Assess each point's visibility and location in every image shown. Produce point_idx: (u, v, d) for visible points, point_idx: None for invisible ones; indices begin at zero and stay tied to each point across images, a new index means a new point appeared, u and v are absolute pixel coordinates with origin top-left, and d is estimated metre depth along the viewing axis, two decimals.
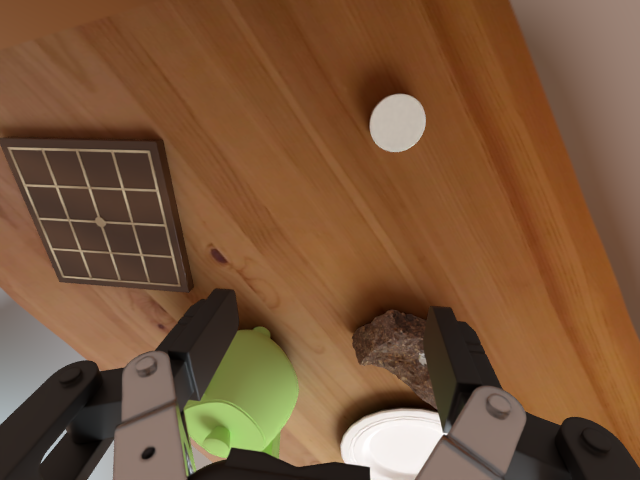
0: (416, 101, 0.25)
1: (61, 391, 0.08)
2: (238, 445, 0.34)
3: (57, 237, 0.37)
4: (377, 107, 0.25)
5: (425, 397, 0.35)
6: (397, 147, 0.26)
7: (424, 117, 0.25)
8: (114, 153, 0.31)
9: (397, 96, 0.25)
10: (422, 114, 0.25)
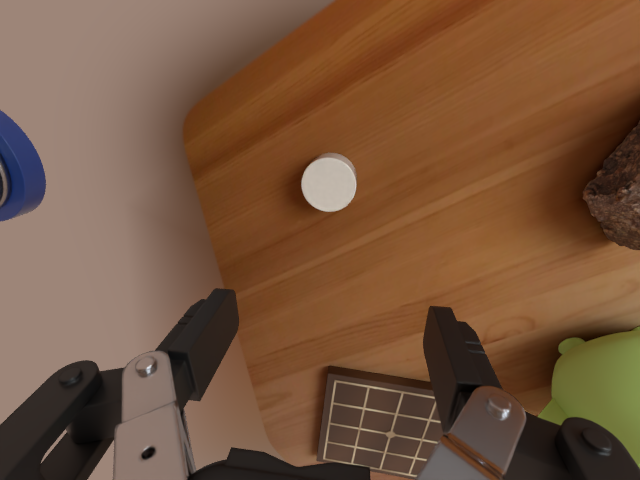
0: (308, 167, 0.25)
1: (60, 391, 0.08)
2: None
3: (399, 466, 0.42)
4: (311, 203, 0.26)
5: None
6: (351, 185, 0.25)
7: (324, 159, 0.24)
8: (334, 402, 0.38)
9: (303, 185, 0.26)
10: (320, 160, 0.24)
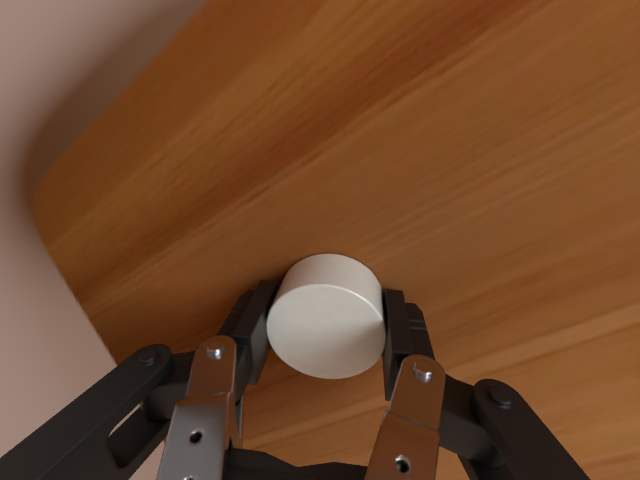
0: (277, 304, 0.11)
1: (137, 370, 0.09)
2: None
3: None
4: (293, 366, 0.12)
5: None
6: (375, 336, 0.11)
7: (310, 287, 0.11)
8: None
9: (270, 335, 0.12)
10: (303, 291, 0.11)
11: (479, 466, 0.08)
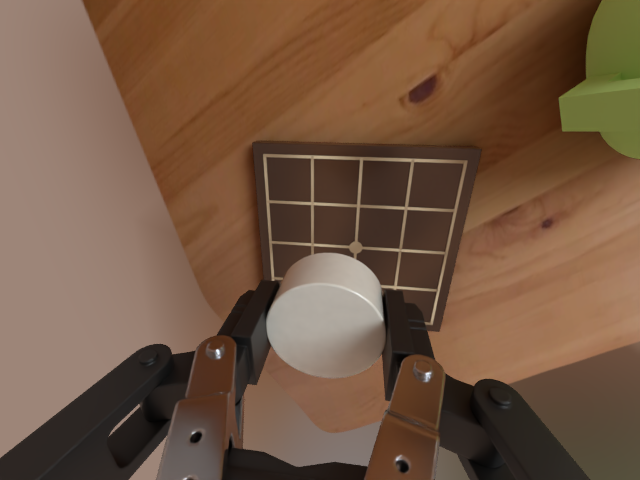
0: (277, 302, 0.11)
1: (138, 370, 0.09)
2: None
3: None
4: (293, 365, 0.12)
5: None
6: (375, 335, 0.11)
7: (310, 286, 0.11)
8: (270, 199, 0.27)
9: (269, 334, 0.12)
10: (302, 290, 0.11)
11: (479, 466, 0.08)
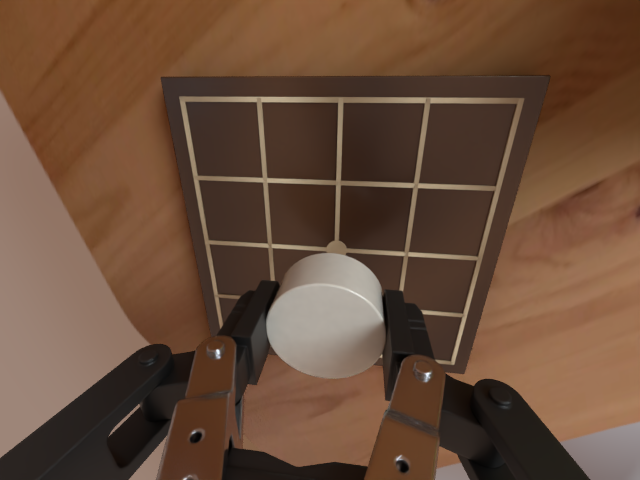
0: (277, 303, 0.11)
1: (138, 370, 0.09)
2: None
3: None
4: (293, 365, 0.12)
5: None
6: (375, 336, 0.11)
7: (310, 286, 0.11)
8: (199, 174, 0.17)
9: (270, 334, 0.12)
10: (302, 290, 0.11)
11: (479, 466, 0.08)
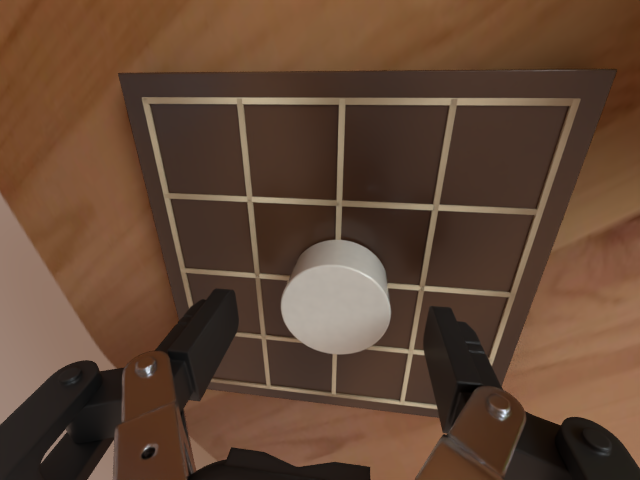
0: (292, 283, 0.12)
1: (60, 391, 0.08)
2: None
3: (376, 382, 0.17)
4: (305, 342, 0.14)
5: None
6: (380, 313, 0.12)
7: (321, 267, 0.12)
8: (171, 192, 0.14)
9: (284, 313, 0.13)
10: (315, 271, 0.12)
11: None
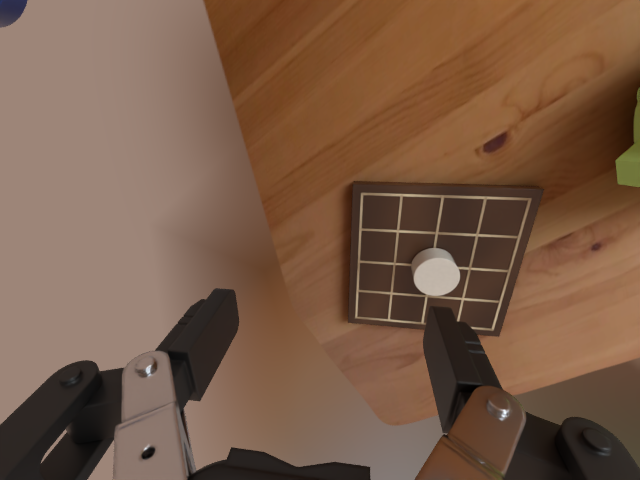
0: (421, 265, 0.31)
1: (60, 391, 0.08)
2: None
3: None
4: (421, 290, 0.32)
5: None
6: (455, 277, 0.31)
7: (434, 259, 0.31)
8: (362, 228, 0.33)
9: (415, 278, 0.32)
10: (431, 260, 0.31)
11: None
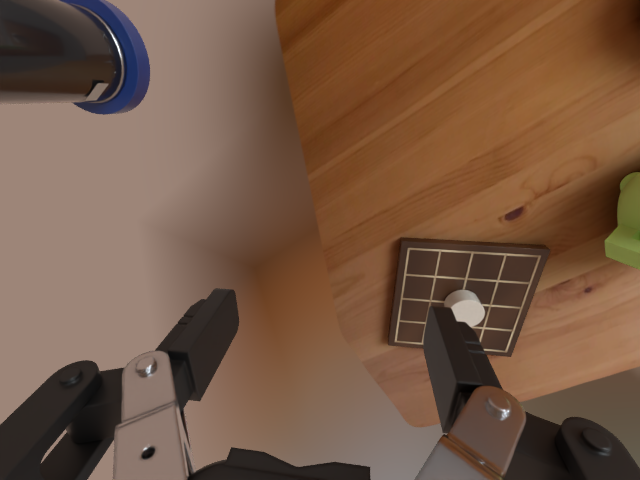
0: (454, 305, 0.40)
1: (61, 391, 0.08)
2: None
3: None
4: None
5: None
6: (481, 314, 0.40)
7: (465, 300, 0.39)
8: (407, 273, 0.42)
9: None
10: (463, 301, 0.40)
11: None
